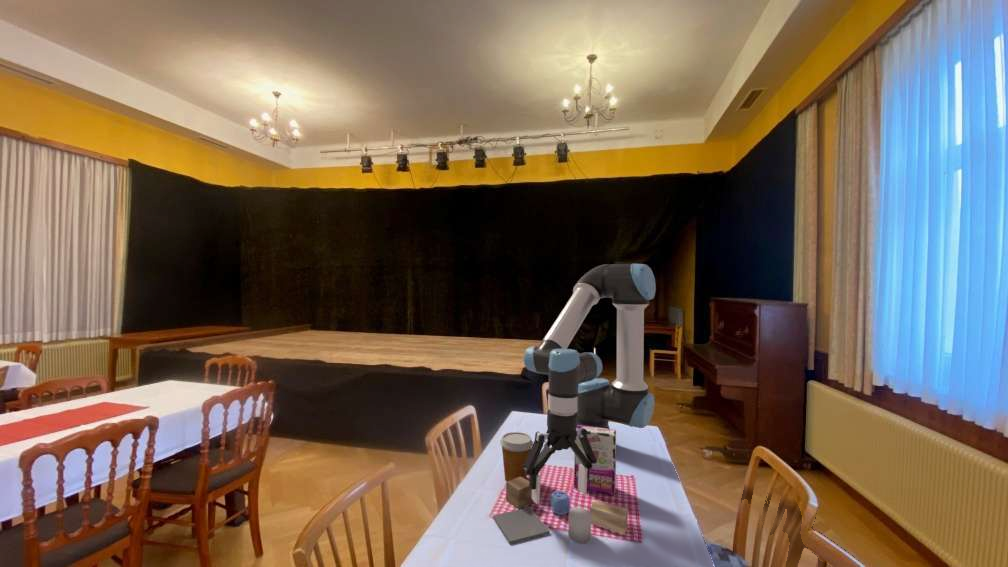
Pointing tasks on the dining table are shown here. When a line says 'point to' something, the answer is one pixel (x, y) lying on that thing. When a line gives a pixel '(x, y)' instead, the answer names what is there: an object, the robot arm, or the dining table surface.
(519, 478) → the walnut cube
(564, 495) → the decorative dice
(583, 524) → the grey plastic cylinder
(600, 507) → the maple bar
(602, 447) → the candy bar box
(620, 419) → the robot arm
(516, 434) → the disposable coffee cup
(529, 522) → the slate coaster
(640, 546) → the dining table surface
